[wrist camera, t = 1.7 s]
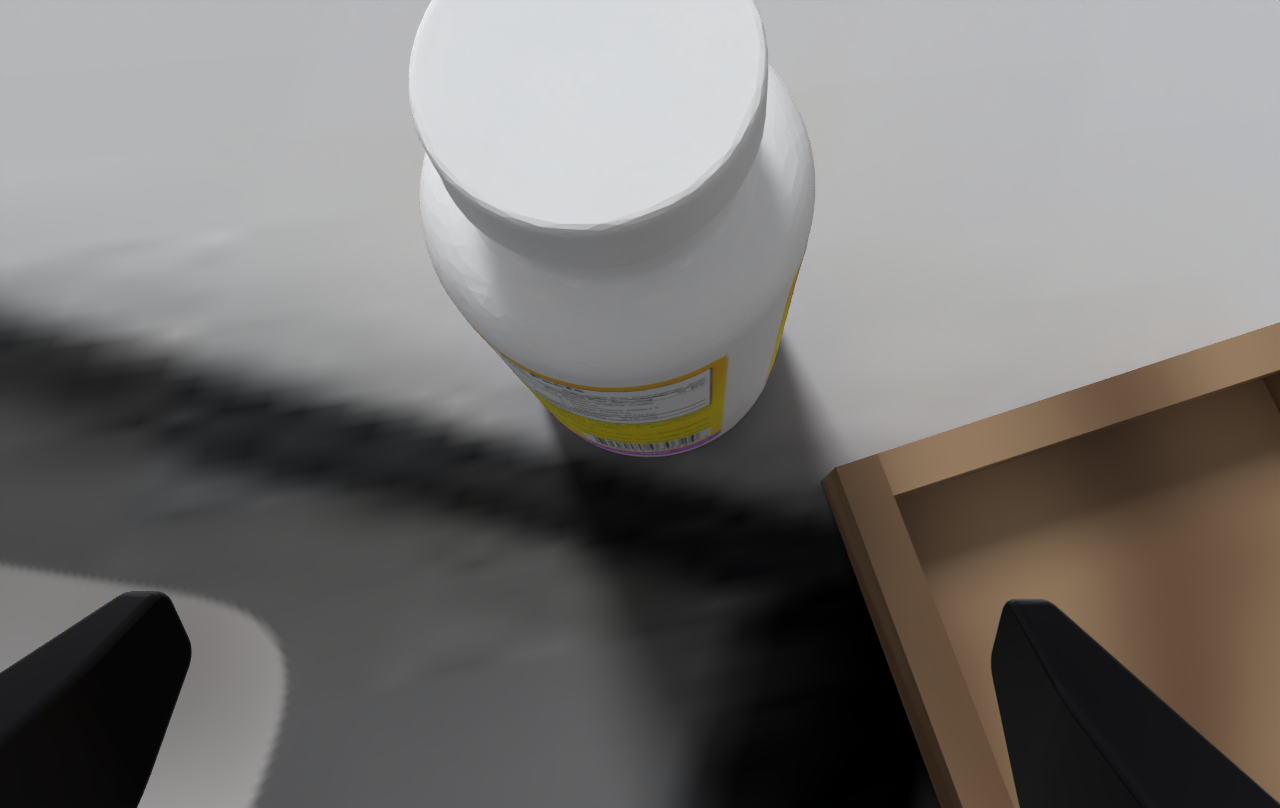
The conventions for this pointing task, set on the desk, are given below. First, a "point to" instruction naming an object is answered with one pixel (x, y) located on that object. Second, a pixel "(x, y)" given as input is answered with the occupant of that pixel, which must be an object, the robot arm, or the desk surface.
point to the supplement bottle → (615, 204)
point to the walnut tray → (1085, 553)
